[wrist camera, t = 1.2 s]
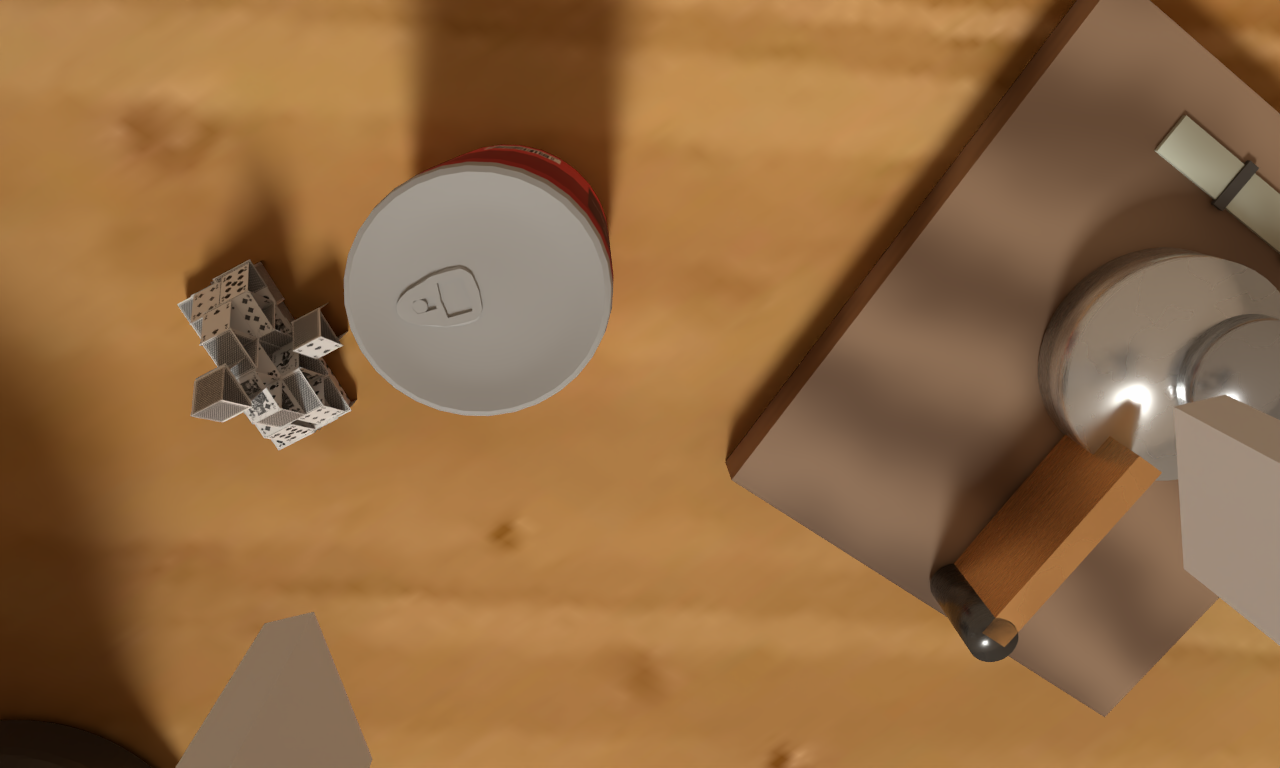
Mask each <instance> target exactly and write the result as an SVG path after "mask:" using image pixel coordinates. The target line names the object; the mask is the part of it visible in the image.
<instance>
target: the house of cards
mask: <svg viewBox="0 0 1280 768" xmlns="http://www.w3.org/2000/svg"><path fill="white" fill-rule="evenodd" d="M262 261H263V260H262ZM212 280H213V281H212V282H210V283H211V284H212V285H210V286H208V287H206V288H204V289H202V290H200V291H199V292H197V293H195V294H193V295H191V297H190V298H188V299H186V300H184V301H183V302H181V303H179V304H177V305H178V306H179V308H180V309H181V311H182V312H183V314H184V315H185V317H186V318H187V320H188V321H189V322H190V325H192V327H193V328H194V330H195V331H196V333H197V334H198V336H199V337H200V339H201V342H200V345H201V346H204V348H205V349H206V351H207V352H208V354H209V355H210V357H211V358H212V360H213V361H214V363H215V364H216V365H217V368H215V369H213V370H211V371H209V372H207V373H206V374H204V375H202V376H200V377H198V378H196V379H195V381H194V391H193V401H192V411H191V416H192V417H197V418H203V419H208V420H213V421H218V422H225V421H227V420H229V419H231V418H233V417H235V416H237V415H239V414H241V413H242V412H244V413H245V414H246V416H247V417H248V419H249V420H250V422H251V423H252V424H255V425H256V427H257V428H258V430H259V431H260V433H261V434H262V436H263V437H264V438H267V439H271V440H272V441H273V443H274V444H275V446H276V447H277V449H278V450H281V449H283V448H285V447H287V446H289V445H291V444H293V443H294V442H296V441H298V440H300V439H302V438H304V437H306V436H308V435H310V434H312V433H315V432H316V430H317V429H318V430H320V429H321V428H322V427H323V426H325V425H327V424H329V423H331V422H333V421H334V420H336V419H338V417H340V416H342V415H344V414H346V413H348V412H350V411H351V409H350V408H349V407H351V406H352V405H353V404H354V403H355V401H356V400H357V399H356V400H354V401H352V402H351V401H350V400H349V398H348V396H347V395H346V393H345V392H344V390H343V389H342V387H341V386H340V384H339V382H338V381H337V379H336V378H335V376H334V375H333V373H332V372H331V370H330V368H329V367H328V365H327V364H326V362H325V361H324V359H323V358H322V356H324V355H326V354H328V353H330V352H332V351H334V350H336V349H338V348H340V347H342V346H343V345H341V343H340V341H339V340H340V339H341V338H342V337H343V336H344V335H345V334H346V333H347V332H348V331H347V332H346V333H344V334H342V335H340V336H338V337H336V335H335V333H334V332H333V330H332V329H331V327H330V326H329V324H328V322H327V321H326V319H325V318H324V316H323V314H322V313H321V311H320V309H321V308H322V307H324V306H325V305H326V304H325V305H323V306H321V307H319V308H317V309H315V310H313V311H311V312H309V313H307V314H305V315H304V316H302V317H300V318H298V319H296V320H294V318H293V316H292V315H291V313H290V312H289V310H288V309H287V307H286V306H285V304H284V302H283V300H285V299H284V297H283V296H282V294H281V293H280V291H279V290H278V288H277V286H276V285H275V283H274V282H273V280H272V279H271V277H270V276H269V274H268V272H267V271H266V269H265V268H264V266H263V265H262V263H261V261H260V262H258V263H256V264H255V265H253V263H252V262H251V260H250V259H249V260H247V261H246V262H244V263H242V264H240V265H238V266H236V267H234V268H232V269H231V270H229V271H227V272H225V273H223V274H221V275H219V276H217V277H216V278H214V279H212ZM328 303H329V302H328Z"/></svg>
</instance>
